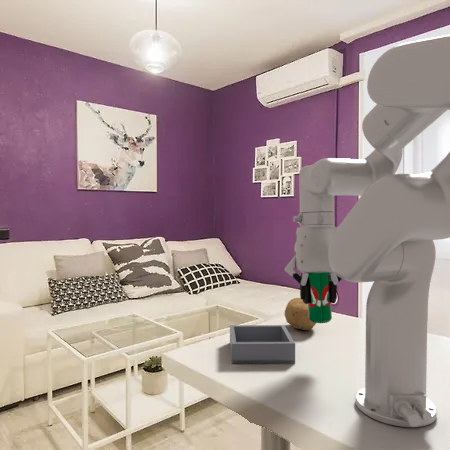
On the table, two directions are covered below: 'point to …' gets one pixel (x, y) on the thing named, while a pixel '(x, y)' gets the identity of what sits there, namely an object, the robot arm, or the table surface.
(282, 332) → the bin
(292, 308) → the potato
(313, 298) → the soda can
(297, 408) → the table surface
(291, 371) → the table surface
